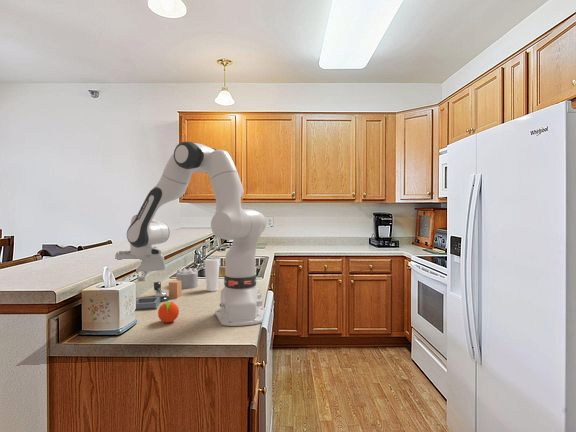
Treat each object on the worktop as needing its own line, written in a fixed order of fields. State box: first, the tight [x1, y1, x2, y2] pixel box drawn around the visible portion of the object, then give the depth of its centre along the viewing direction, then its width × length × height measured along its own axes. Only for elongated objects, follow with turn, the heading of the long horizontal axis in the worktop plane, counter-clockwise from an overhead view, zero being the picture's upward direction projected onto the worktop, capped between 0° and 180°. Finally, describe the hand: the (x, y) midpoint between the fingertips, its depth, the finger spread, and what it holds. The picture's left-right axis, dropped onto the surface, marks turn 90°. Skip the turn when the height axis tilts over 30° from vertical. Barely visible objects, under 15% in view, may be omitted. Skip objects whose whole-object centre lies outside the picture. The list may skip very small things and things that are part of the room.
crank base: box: [160, 295, 169, 303], centre depth 149 cm, size 6×6×1 cm
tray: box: [135, 296, 161, 311], centre depth 139 cm, size 9×9×2 cm
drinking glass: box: [204, 257, 220, 292], centre depth 166 cm, size 7×7×15 cm
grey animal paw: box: [175, 267, 199, 290], centre depth 177 cm, size 10×13×9 cm
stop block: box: [168, 280, 183, 299], centre depth 154 cm, size 4×4×7 cm
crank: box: [153, 281, 167, 298], centre depth 152 cm, size 13×4×4 cm, turn 30°
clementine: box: [157, 301, 180, 324], centre depth 120 cm, size 8×7×7 cm
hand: (141, 281), depth 155 cm, fingers closed
